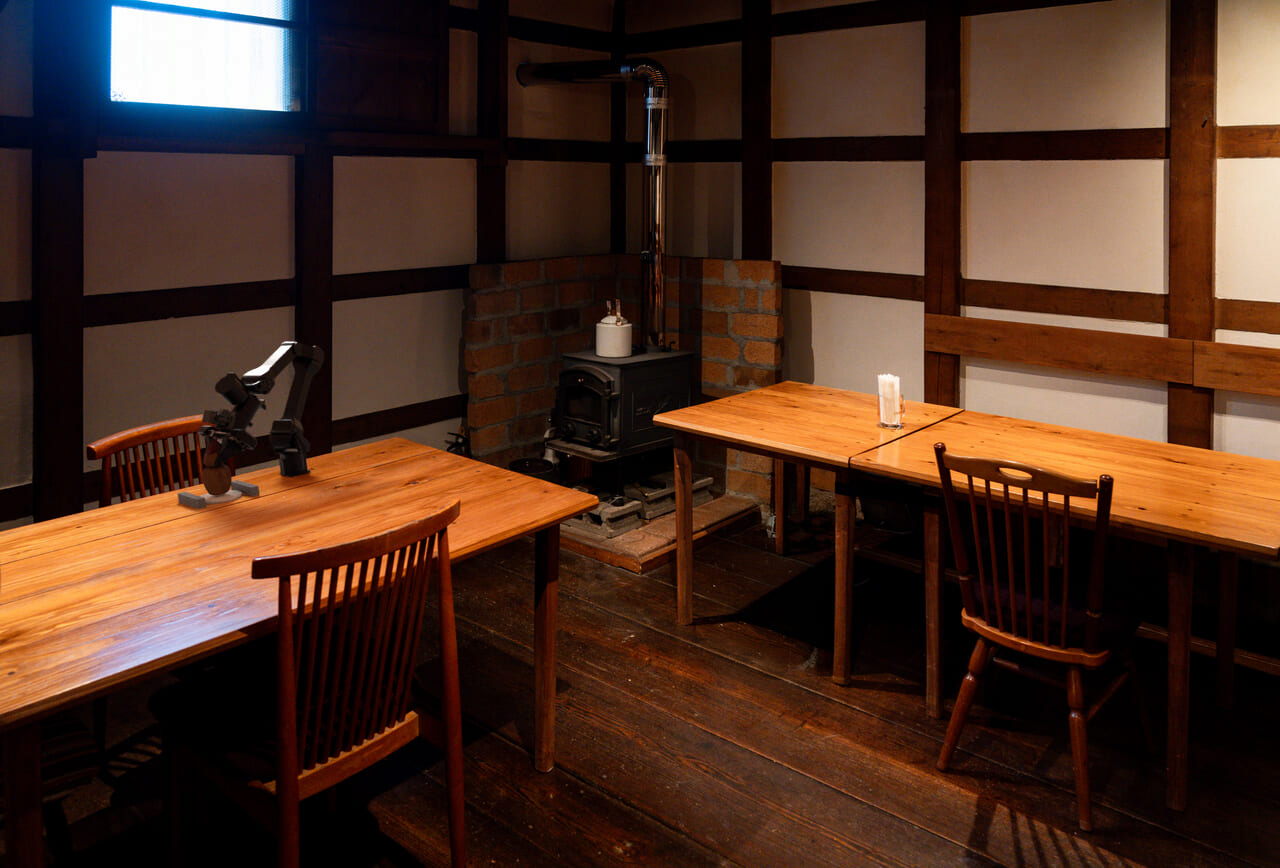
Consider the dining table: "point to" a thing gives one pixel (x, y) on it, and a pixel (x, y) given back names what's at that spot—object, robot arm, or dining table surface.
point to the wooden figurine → (215, 472)
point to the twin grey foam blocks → (200, 501)
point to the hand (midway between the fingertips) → (209, 464)
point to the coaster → (222, 497)
